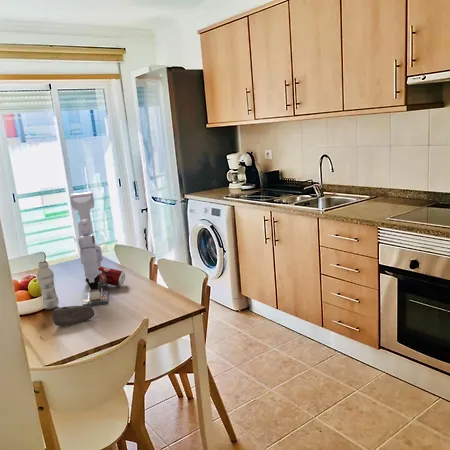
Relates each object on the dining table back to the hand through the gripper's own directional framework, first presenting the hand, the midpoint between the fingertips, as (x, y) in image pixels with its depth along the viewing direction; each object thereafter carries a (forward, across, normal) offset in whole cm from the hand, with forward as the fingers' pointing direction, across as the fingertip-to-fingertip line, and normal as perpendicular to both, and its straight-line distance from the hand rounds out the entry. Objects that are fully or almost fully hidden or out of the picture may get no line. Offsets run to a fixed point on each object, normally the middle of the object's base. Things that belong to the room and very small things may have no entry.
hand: (95, 293), depth 188 cm
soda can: (0, +11, -12) cm, 16 cm away
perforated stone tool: (+3, -21, +7) cm, 22 cm away
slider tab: (+1, -3, 0) cm, 3 cm away
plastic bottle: (+3, -1, +18) cm, 18 cm away
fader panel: (+3, +4, 0) cm, 5 cm away
